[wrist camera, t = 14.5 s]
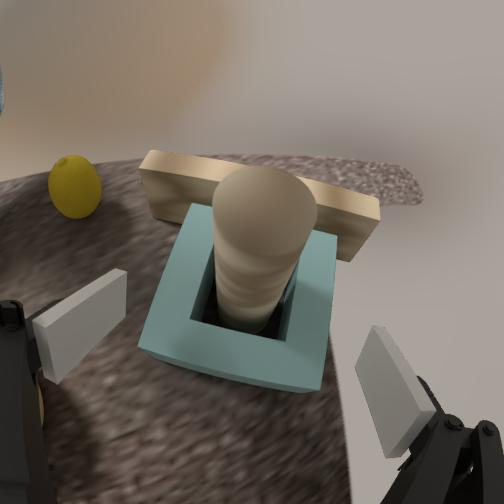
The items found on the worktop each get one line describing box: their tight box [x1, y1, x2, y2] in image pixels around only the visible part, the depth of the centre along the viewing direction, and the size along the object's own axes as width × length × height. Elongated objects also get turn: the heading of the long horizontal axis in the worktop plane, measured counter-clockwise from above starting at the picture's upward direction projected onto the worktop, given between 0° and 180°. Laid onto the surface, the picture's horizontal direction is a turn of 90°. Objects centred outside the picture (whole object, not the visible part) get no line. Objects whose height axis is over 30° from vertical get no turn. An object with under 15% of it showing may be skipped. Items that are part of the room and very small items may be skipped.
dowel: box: [212, 166, 317, 335], centre depth 18 cm, size 4×4×14 cm
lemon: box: [48, 155, 102, 219], centre depth 24 cm, size 6×6×8 cm
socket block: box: [138, 203, 337, 393], centre depth 22 cm, size 12×12×5 cm
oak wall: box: [139, 150, 380, 262], centre depth 25 cm, size 20×2×7 cm, turn 78°
